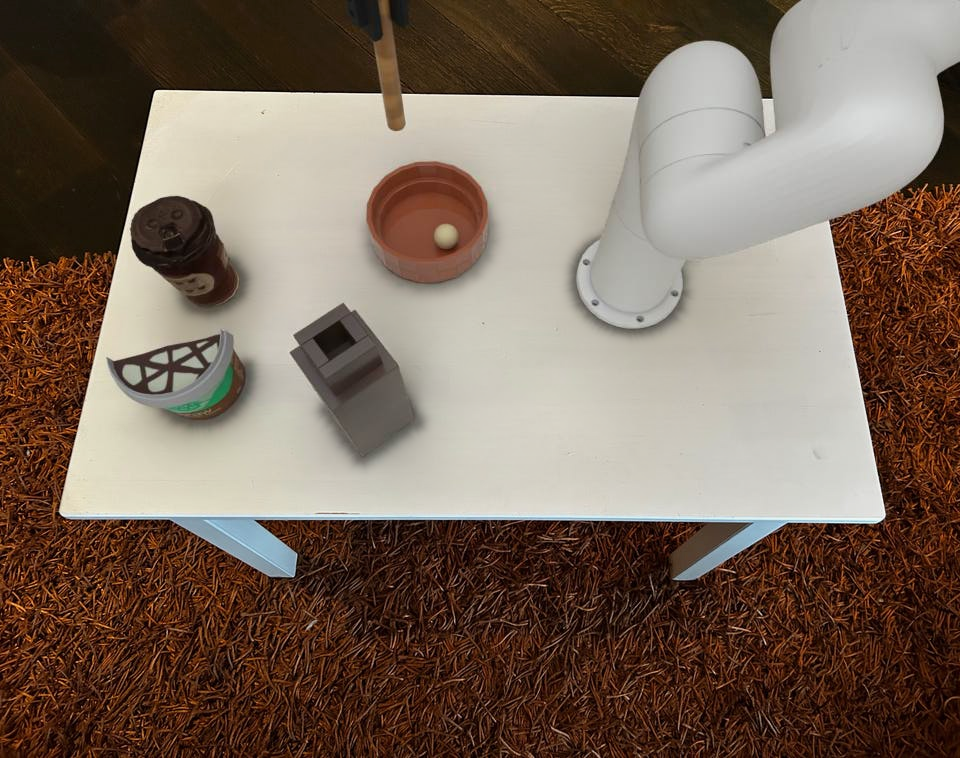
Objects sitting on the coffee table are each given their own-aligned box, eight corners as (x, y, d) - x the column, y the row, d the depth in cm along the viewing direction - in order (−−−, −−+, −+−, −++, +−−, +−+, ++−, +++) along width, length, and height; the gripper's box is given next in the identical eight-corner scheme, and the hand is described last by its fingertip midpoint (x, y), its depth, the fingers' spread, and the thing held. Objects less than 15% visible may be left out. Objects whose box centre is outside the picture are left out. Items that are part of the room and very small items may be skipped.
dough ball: (451, 236, 81) (446, 257, 80) (431, 224, 79) (426, 245, 78) (465, 227, 78) (460, 248, 77) (445, 215, 77) (440, 236, 76)
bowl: (442, 169, 84) (440, 142, 80) (510, 243, 80) (512, 220, 76) (350, 225, 81) (342, 200, 76) (416, 306, 77) (413, 285, 72)
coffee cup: (233, 324, 76) (187, 266, 64) (166, 311, 77) (107, 252, 65) (257, 261, 79) (217, 194, 67) (192, 249, 80) (141, 181, 68)
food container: (154, 443, 71) (105, 415, 62) (148, 392, 73) (100, 358, 64) (266, 413, 72) (235, 381, 63) (257, 364, 74) (226, 326, 65)
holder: (379, 373, 74) (346, 287, 55) (415, 420, 72) (393, 347, 53) (327, 409, 72) (275, 332, 54) (362, 457, 71) (321, 396, 52)
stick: (397, 114, 58) (370, -66, 43) (409, 124, 57) (386, -53, 42) (383, 123, 57) (351, -55, 42) (395, 134, 57) (367, -42, 42)
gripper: (214, -225, 27) (314, 104, 45) (511, -339, 31) (498, 7, 48) (137, -306, 30) (261, 37, 47) (422, -404, 33) (440, -50, 50)
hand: (381, 21), depth 47 cm, fingers closed on stick, 1 cm apart
